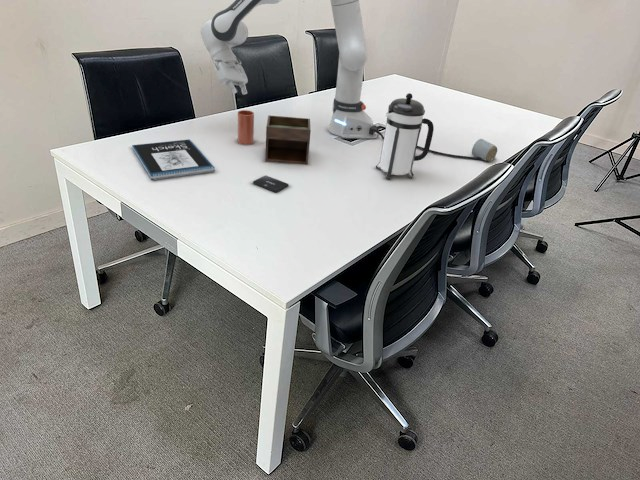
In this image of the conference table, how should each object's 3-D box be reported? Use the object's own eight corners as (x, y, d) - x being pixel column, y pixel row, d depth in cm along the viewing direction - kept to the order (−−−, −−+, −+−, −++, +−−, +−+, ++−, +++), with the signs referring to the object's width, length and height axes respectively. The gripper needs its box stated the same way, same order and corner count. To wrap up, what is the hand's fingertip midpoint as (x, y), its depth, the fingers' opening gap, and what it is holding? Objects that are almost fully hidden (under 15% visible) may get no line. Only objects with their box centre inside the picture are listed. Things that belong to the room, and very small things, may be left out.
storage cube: (307, 151, 186) (309, 118, 178) (307, 164, 175) (310, 130, 167) (267, 148, 184) (268, 115, 177) (265, 161, 173) (266, 126, 166)
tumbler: (254, 139, 191) (254, 111, 185) (252, 145, 186) (253, 115, 179) (238, 138, 190) (238, 109, 184) (237, 144, 185) (236, 114, 179)
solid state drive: (276, 192, 152) (276, 190, 152) (252, 183, 157) (252, 181, 156) (288, 185, 158) (288, 183, 157) (265, 177, 162) (265, 175, 161)
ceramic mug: (485, 163, 193) (491, 146, 188) (469, 156, 198) (474, 139, 194) (499, 159, 199) (505, 142, 195) (483, 152, 204) (488, 136, 200)
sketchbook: (189, 142, 182) (189, 137, 181) (215, 173, 161) (215, 167, 160) (132, 148, 172) (131, 142, 171) (152, 181, 151) (151, 175, 150)
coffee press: (407, 186, 167) (425, 103, 150) (367, 173, 173) (381, 92, 157) (424, 171, 179) (442, 93, 163) (387, 160, 186) (401, 84, 170)
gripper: (218, 54, 176) (235, 88, 178) (242, 60, 195) (256, 90, 197) (206, 62, 179) (222, 96, 180) (230, 67, 198) (244, 97, 199)
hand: (240, 93), depth 189 cm, fingers open, 8 cm apart
